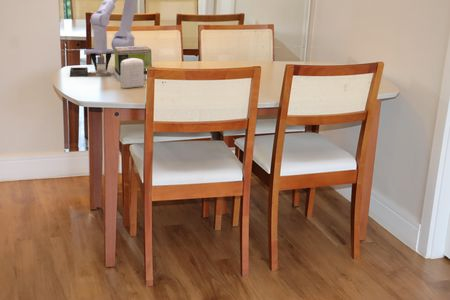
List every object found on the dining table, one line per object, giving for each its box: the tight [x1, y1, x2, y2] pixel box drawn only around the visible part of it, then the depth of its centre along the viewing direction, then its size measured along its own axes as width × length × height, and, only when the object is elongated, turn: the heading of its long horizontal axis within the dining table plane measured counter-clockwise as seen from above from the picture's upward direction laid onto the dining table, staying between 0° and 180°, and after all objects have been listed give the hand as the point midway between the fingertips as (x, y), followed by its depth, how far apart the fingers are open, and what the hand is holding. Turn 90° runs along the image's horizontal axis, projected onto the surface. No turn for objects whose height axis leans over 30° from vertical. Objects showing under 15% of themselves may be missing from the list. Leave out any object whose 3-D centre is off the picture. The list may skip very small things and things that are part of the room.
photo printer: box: [120, 58, 145, 89], centre depth 269 cm, size 10×4×12 cm, turn 123°
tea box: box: [114, 45, 153, 82], centre depth 280 cm, size 15×10×15 cm
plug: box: [96, 55, 106, 70], centre depth 286 cm, size 4×4×8 cm
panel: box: [69, 66, 111, 78], centre depth 286 cm, size 18×9×4 cm, turn 101°
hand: (101, 70), depth 287 cm, fingers closed on plug, 4 cm apart
